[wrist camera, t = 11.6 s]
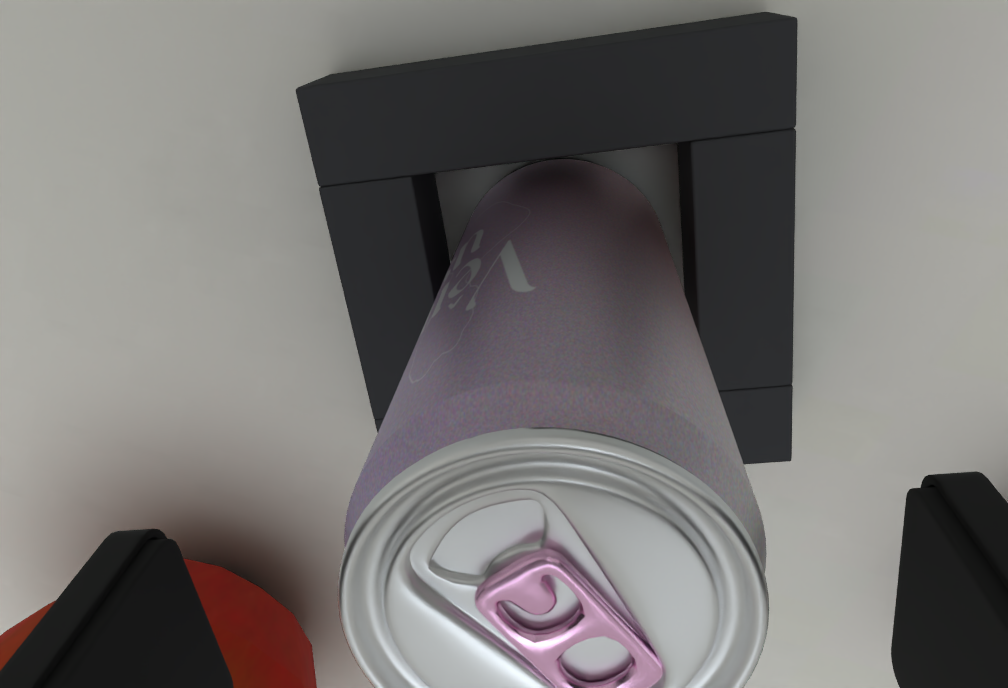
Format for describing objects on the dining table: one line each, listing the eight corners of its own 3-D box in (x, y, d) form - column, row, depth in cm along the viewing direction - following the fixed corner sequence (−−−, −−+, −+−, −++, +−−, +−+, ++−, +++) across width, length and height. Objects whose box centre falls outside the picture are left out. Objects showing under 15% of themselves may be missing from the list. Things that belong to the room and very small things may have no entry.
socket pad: (328, 74, 22) (293, 88, 19) (769, 11, 20) (798, 16, 18) (409, 437, 27) (390, 489, 24) (768, 410, 25) (791, 461, 23)
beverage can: (546, 376, 25) (513, 829, 12) (425, 236, 24) (227, 581, 10) (702, 270, 24) (876, 669, 10) (583, 110, 22) (597, 329, 8)
